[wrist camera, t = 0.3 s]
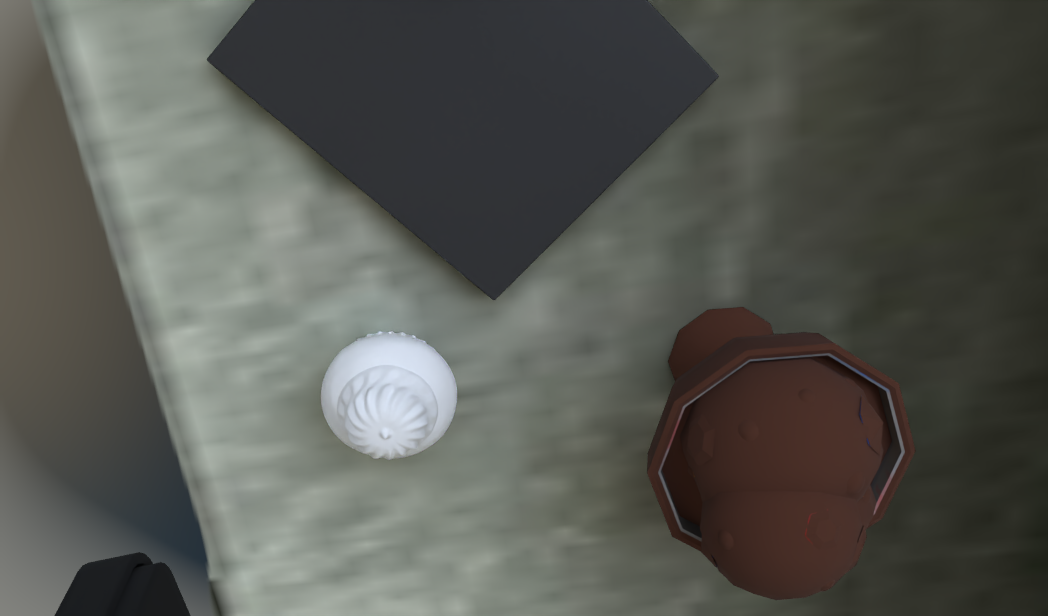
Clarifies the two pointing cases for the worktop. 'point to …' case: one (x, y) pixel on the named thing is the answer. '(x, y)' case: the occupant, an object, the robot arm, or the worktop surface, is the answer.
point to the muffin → (389, 395)
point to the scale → (470, 108)
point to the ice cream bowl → (775, 452)
